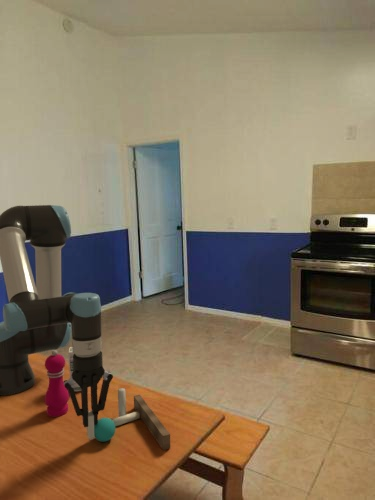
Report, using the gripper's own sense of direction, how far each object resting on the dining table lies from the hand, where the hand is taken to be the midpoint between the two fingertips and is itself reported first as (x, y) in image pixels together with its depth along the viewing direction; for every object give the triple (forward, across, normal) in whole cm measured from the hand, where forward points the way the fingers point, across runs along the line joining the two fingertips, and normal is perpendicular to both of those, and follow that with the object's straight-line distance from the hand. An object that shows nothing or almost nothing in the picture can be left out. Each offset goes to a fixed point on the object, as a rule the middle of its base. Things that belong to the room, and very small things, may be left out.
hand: (90, 436), depth 105 cm
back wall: (+2, +17, 0) cm, 17 cm away
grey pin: (+2, +11, +8) cm, 14 cm away
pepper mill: (+2, -6, +21) cm, 22 cm away
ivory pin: (+1, +7, +5) cm, 8 cm away
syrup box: (+2, +3, +34) cm, 34 cm away
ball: (-1, +4, 0) cm, 4 cm away
